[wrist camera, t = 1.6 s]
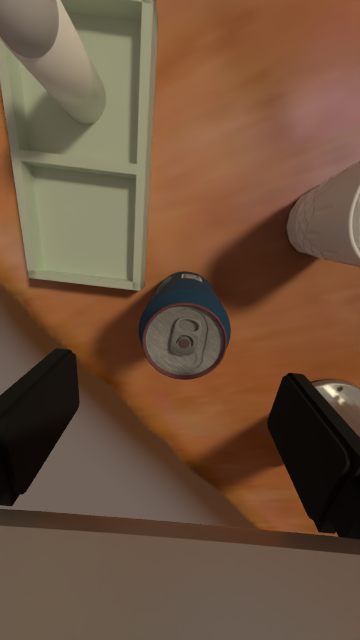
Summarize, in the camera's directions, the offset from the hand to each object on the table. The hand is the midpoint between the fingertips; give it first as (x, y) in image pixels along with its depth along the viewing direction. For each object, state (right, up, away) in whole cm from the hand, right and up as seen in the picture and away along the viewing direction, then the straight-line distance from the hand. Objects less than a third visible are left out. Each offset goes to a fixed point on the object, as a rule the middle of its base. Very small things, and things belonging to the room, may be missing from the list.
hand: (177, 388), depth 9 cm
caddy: (-9, +18, +11) cm, 23 cm away
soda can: (+1, +6, +16) cm, 17 cm away
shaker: (-8, +23, +9) cm, 26 cm away
